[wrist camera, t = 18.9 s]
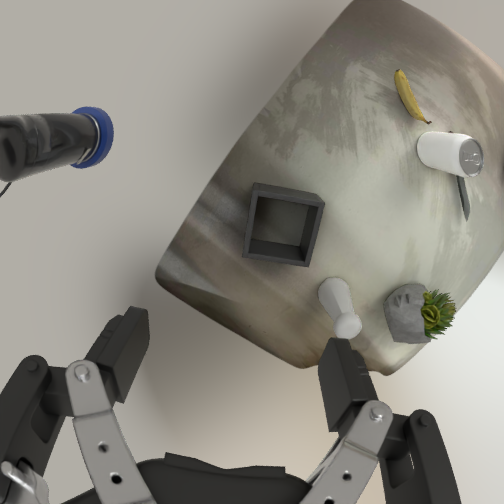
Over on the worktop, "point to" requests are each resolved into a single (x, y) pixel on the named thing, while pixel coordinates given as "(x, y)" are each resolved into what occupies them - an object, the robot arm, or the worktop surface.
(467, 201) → the knife
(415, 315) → the potted plant
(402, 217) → the worktop surface
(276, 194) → the holder
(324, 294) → the salt shaker
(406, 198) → the worktop surface
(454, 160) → the can
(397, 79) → the banana
